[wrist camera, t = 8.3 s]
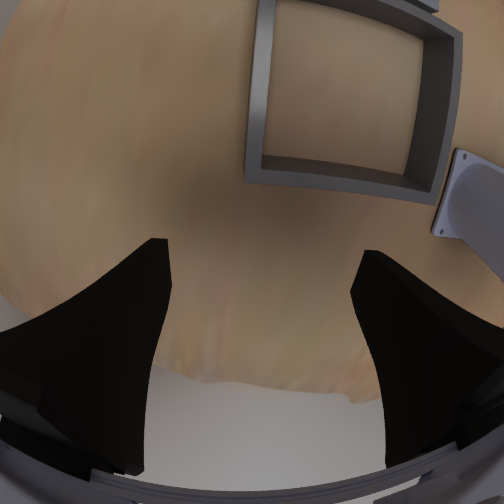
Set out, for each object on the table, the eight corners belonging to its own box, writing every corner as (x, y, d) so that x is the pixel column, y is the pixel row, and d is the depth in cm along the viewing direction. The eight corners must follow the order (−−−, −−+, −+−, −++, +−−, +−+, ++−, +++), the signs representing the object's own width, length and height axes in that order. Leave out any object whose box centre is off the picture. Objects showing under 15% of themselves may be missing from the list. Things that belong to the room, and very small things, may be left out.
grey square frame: (432, 35, 11) (462, 33, 8) (409, 186, 18) (434, 205, 15) (258, -15, 10) (263, -37, 7) (243, 165, 17) (244, 182, 14)
